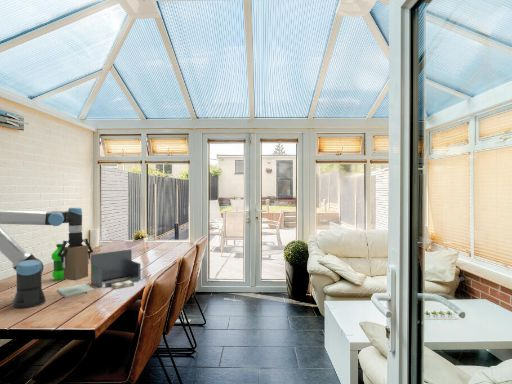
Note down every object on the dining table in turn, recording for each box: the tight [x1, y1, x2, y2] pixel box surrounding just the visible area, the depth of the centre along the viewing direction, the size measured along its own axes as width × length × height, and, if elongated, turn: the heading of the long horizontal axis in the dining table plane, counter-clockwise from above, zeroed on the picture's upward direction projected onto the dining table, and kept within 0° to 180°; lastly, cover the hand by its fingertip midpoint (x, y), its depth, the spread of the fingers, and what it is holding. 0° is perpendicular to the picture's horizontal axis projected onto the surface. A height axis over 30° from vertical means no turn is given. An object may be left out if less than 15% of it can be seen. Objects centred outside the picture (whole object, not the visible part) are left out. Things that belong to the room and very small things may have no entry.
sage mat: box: [56, 283, 96, 298], centre depth 212 cm, size 17×18×1 cm
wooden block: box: [63, 244, 89, 281], centre depth 212 cm, size 10×10×20 cm
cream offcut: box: [111, 280, 135, 290], centre depth 219 cm, size 12×7×2 cm, turn 131°
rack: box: [90, 248, 142, 288], centre depth 230 cm, size 28×19×20 cm
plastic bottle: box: [51, 243, 65, 281], centre depth 241 cm, size 10×10×25 cm
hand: (75, 265), depth 212 cm, fingers closed on wooden block, 13 cm apart
